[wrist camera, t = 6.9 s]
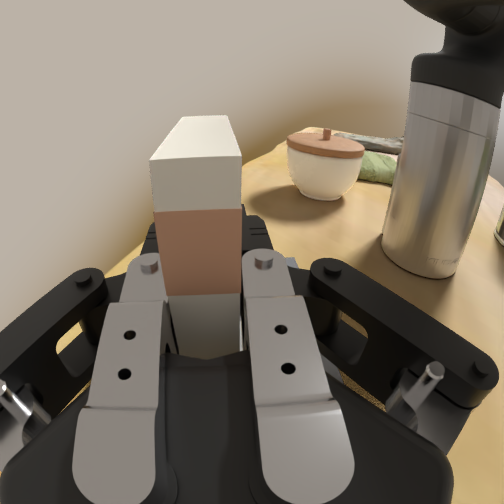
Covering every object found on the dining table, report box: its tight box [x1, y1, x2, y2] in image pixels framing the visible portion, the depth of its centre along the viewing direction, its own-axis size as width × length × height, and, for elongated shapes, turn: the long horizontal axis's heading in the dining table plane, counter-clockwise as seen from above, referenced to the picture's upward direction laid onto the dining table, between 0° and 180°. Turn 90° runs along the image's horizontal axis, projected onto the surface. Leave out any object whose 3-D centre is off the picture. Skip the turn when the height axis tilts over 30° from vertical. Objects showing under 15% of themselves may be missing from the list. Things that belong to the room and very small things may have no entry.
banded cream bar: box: [149, 115, 242, 359], centre depth 11 cm, size 6×2×13 cm, turn 7°
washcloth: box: [357, 151, 397, 185], centre depth 54 cm, size 13×18×3 cm
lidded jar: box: [287, 129, 365, 201], centre depth 40 cm, size 11×11×9 cm
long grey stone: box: [334, 133, 404, 154], centre depth 74 cm, size 35×5×10 cm
